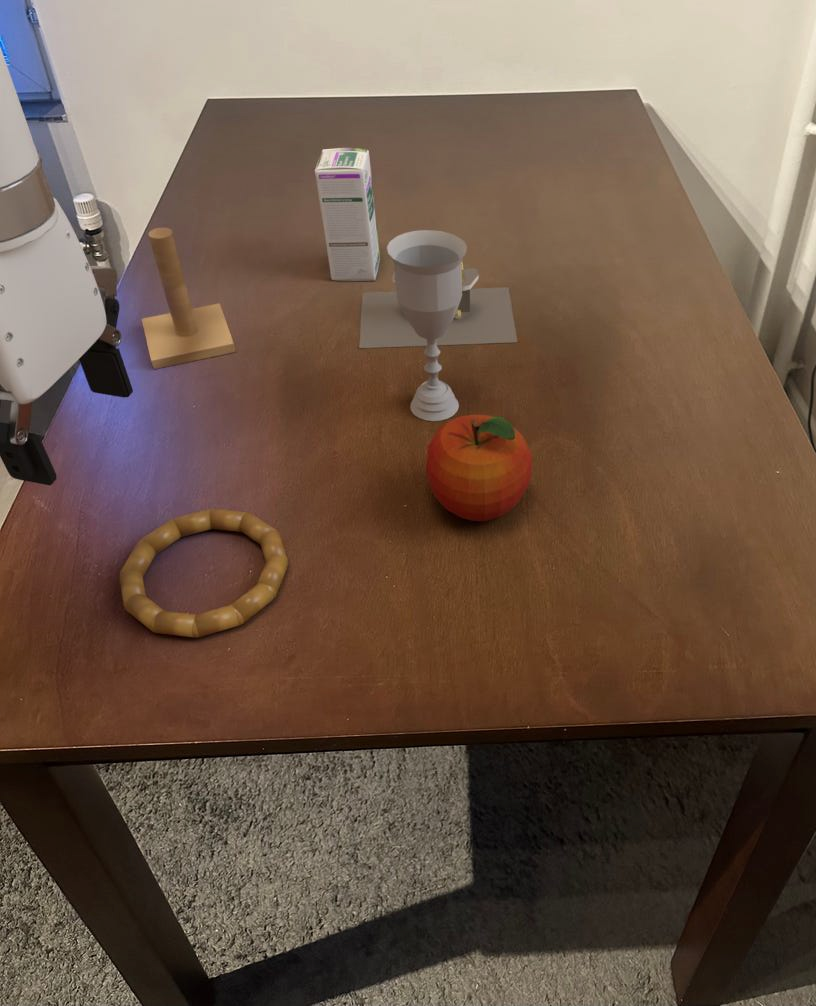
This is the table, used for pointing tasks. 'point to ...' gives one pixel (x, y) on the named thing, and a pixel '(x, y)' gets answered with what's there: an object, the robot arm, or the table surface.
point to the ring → (215, 618)
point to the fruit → (478, 466)
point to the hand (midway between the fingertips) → (75, 433)
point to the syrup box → (348, 213)
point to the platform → (474, 323)
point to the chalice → (429, 305)
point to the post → (182, 315)
